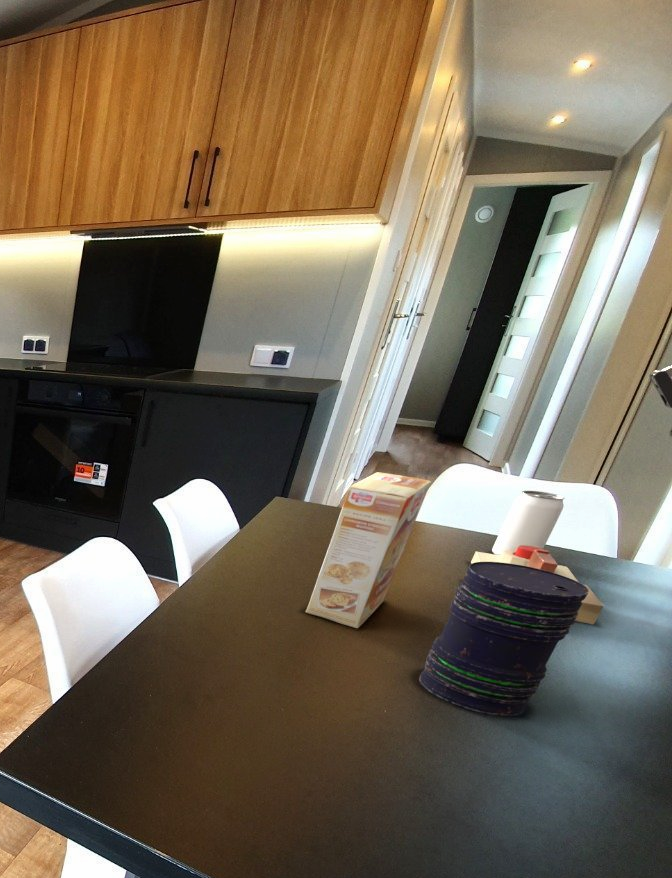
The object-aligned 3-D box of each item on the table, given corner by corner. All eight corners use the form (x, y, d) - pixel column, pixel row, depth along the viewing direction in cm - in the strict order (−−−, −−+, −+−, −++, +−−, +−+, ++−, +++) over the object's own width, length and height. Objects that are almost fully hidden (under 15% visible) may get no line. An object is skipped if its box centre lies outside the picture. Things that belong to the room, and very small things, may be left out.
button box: (561, 578, 110) (572, 556, 108) (572, 595, 103) (584, 572, 101) (470, 562, 116) (479, 542, 114) (476, 577, 110) (486, 555, 108)
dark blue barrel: (399, 679, 78) (448, 567, 72) (446, 664, 82) (496, 556, 75) (497, 724, 70) (562, 602, 63) (544, 705, 73) (610, 588, 67)
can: (488, 548, 124) (515, 488, 118) (533, 555, 120) (563, 493, 115) (493, 557, 119) (522, 495, 114) (540, 565, 115) (572, 501, 110)
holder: (544, 592, 96) (558, 563, 94) (529, 589, 97) (544, 560, 95) (535, 578, 101) (548, 550, 100) (521, 575, 102) (535, 548, 100)
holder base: (577, 600, 101) (586, 582, 100) (594, 626, 93) (605, 606, 91) (463, 579, 108) (470, 562, 107) (470, 601, 100) (478, 583, 99)
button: (540, 557, 109) (545, 548, 108) (544, 563, 106) (549, 554, 105) (512, 553, 110) (516, 543, 110) (515, 559, 108) (520, 549, 107)
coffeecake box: (358, 629, 90) (410, 496, 82) (302, 612, 95) (346, 485, 87) (385, 601, 99) (434, 479, 91) (333, 587, 104) (375, 470, 96)
